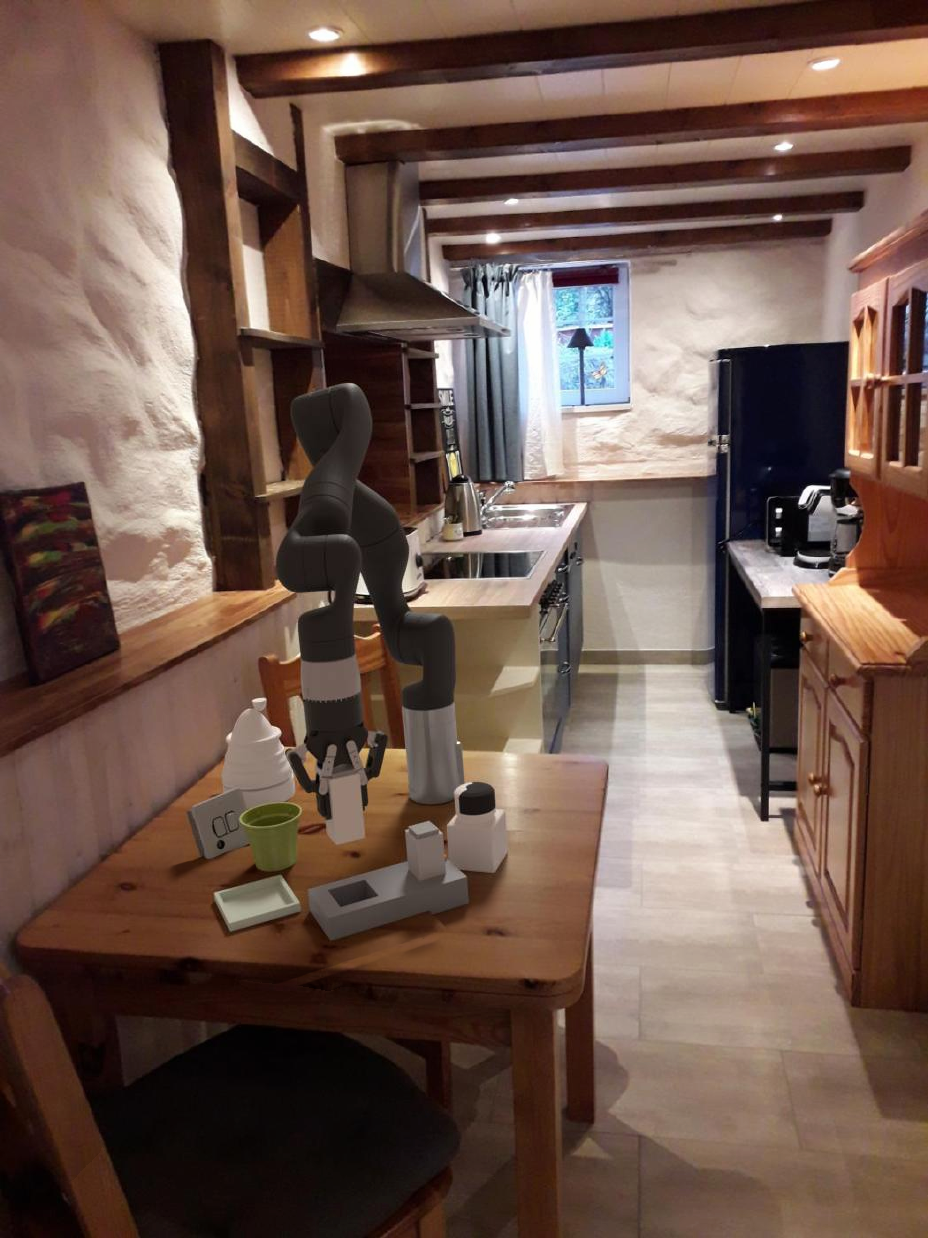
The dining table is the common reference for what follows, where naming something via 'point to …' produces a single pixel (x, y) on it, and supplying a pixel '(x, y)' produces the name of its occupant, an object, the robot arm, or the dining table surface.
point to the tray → (256, 902)
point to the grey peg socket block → (392, 888)
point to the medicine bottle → (477, 829)
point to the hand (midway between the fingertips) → (343, 813)
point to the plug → (345, 805)
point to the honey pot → (257, 760)
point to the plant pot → (272, 834)
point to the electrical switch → (219, 824)
